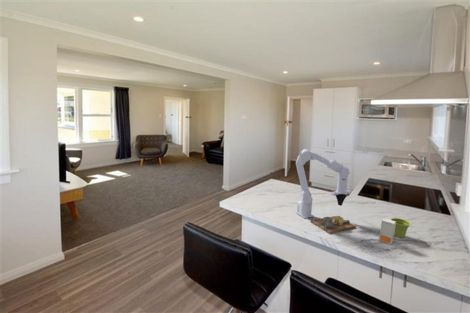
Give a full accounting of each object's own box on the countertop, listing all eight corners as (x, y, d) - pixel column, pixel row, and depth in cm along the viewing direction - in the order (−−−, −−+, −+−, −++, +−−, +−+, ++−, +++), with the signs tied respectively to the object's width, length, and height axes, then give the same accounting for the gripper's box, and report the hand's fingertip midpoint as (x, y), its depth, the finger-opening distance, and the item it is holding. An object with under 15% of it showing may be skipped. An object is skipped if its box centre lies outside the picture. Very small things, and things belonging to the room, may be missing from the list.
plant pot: (407, 234, 149) (409, 220, 148) (408, 241, 141) (410, 226, 140) (388, 230, 154) (390, 216, 152) (388, 236, 146) (390, 222, 144)
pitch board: (310, 222, 162) (311, 212, 161) (336, 217, 170) (337, 207, 169) (329, 233, 148) (330, 222, 146) (356, 227, 156) (357, 217, 155)
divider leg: (332, 222, 159) (333, 215, 158) (336, 221, 160) (337, 214, 159) (338, 226, 154) (339, 218, 154) (342, 225, 156) (343, 218, 155)
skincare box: (378, 240, 141) (381, 220, 139) (381, 238, 144) (383, 217, 142) (391, 244, 137) (394, 223, 135) (393, 242, 140) (396, 221, 138)
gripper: (338, 187, 158) (336, 208, 160) (355, 185, 164) (353, 205, 166) (329, 184, 164) (327, 204, 167) (346, 182, 170) (344, 202, 172)
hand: (339, 205), depth 167 cm, fingers closed
